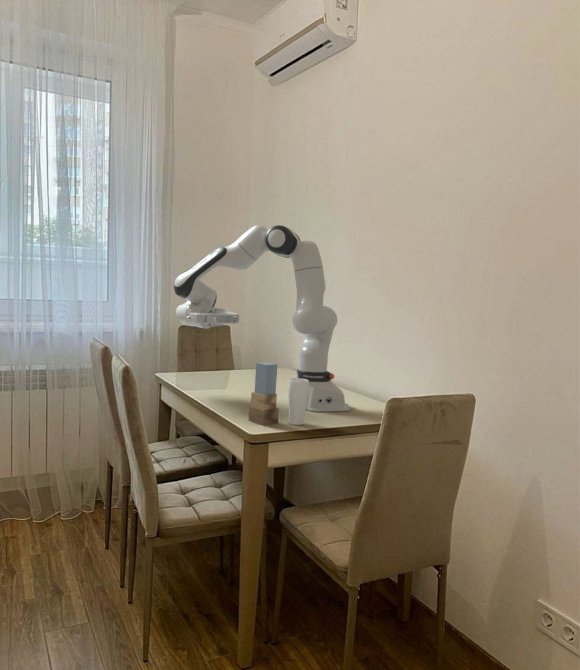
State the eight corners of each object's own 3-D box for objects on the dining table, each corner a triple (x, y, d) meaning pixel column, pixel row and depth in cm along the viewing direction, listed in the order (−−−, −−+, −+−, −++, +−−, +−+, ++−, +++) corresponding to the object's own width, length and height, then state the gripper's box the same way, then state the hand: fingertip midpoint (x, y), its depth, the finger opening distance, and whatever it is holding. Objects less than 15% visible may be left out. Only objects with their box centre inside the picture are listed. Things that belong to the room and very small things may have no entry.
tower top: (263, 405, 199) (264, 390, 199) (275, 408, 195) (276, 393, 195) (250, 407, 195) (251, 392, 194) (263, 410, 191) (264, 395, 190)
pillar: (264, 391, 198) (266, 362, 197) (275, 393, 195) (277, 364, 194) (254, 392, 194) (256, 363, 193) (265, 395, 191) (267, 365, 190)
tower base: (263, 418, 200) (264, 404, 200) (277, 423, 196) (278, 408, 195) (248, 421, 195) (249, 407, 195) (262, 426, 191) (263, 411, 190)
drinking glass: (283, 424, 194) (285, 380, 192) (290, 420, 200) (293, 377, 199) (302, 427, 191) (305, 382, 190) (308, 423, 198) (311, 379, 196)
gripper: (183, 308, 217) (205, 311, 207) (226, 309, 231) (248, 311, 222) (182, 325, 218) (204, 328, 208) (225, 324, 232) (247, 328, 222)
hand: (227, 320), depth 215 cm, fingers open, 8 cm apart
